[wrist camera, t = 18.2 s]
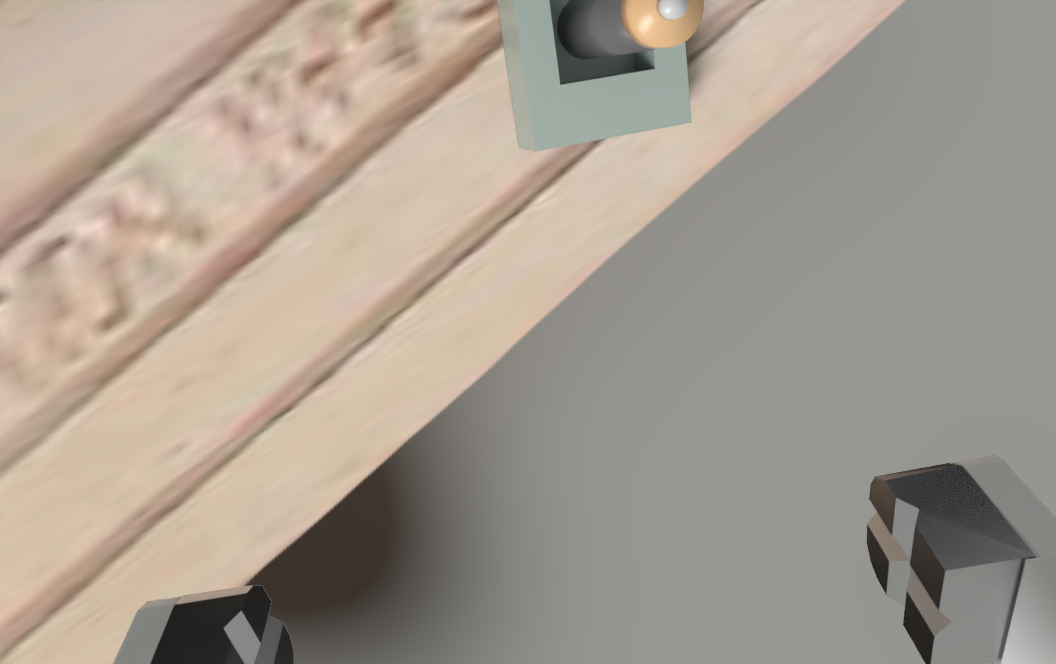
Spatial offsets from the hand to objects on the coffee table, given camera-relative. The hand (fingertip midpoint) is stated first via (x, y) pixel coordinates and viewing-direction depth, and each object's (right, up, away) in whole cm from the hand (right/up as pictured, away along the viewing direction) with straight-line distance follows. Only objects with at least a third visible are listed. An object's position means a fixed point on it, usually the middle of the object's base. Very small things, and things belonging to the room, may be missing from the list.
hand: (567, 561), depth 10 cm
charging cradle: (+3, +23, +41) cm, 48 cm away
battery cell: (+3, +23, +41) cm, 47 cm away
